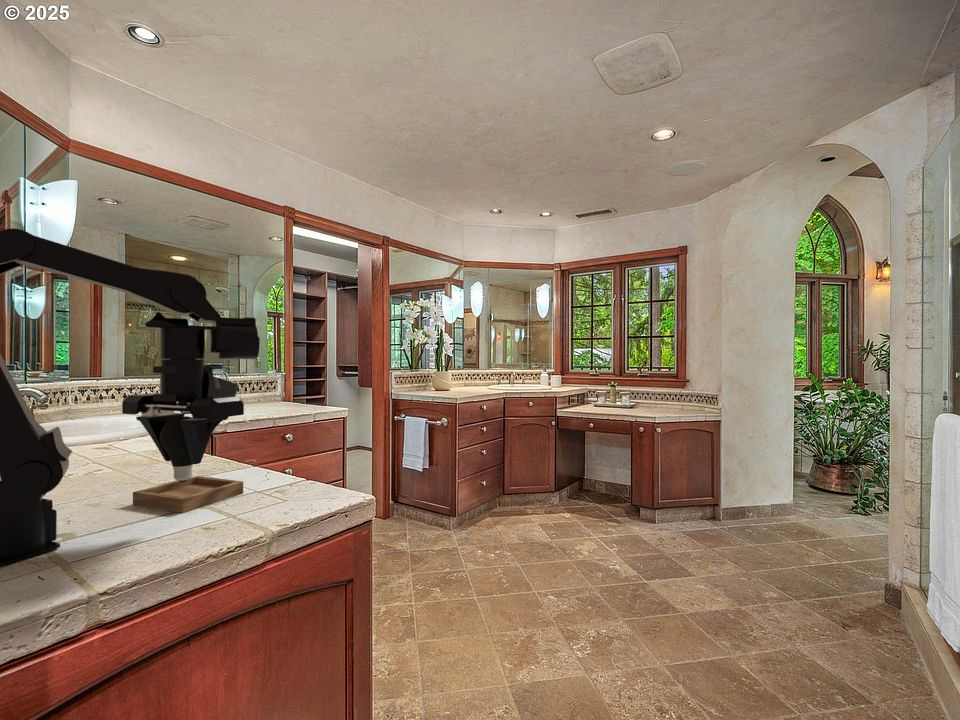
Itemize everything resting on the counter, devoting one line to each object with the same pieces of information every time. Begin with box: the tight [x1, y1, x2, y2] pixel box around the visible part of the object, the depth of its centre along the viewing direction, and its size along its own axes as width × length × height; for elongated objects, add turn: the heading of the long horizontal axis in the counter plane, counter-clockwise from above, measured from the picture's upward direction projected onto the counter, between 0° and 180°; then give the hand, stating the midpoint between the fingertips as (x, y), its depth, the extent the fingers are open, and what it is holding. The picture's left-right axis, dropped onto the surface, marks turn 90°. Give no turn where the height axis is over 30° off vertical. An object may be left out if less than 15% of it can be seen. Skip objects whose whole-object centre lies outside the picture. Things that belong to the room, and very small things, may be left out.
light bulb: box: [160, 415, 194, 483], centre depth 71 cm, size 6×6×10 cm
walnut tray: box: [132, 475, 244, 514], centre depth 84 cm, size 12×12×2 cm
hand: (182, 462), depth 71 cm, fingers closed on light bulb, 5 cm apart
